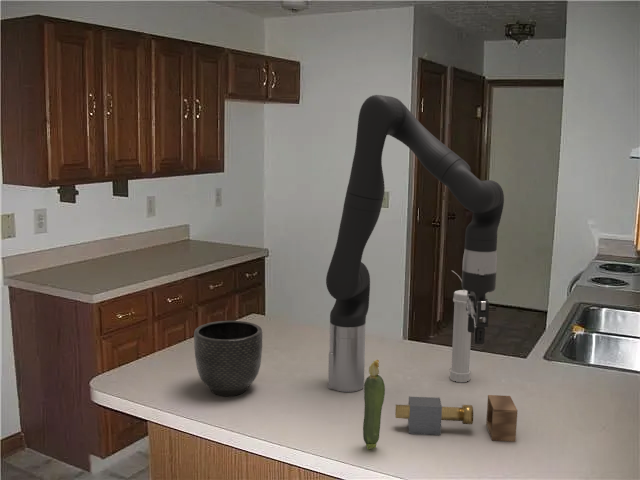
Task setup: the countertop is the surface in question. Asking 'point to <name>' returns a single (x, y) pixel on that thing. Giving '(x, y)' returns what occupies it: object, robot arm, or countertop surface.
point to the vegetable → (373, 405)
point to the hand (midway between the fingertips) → (475, 337)
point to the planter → (228, 355)
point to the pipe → (460, 339)
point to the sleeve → (425, 415)
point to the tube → (447, 413)
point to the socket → (501, 418)
